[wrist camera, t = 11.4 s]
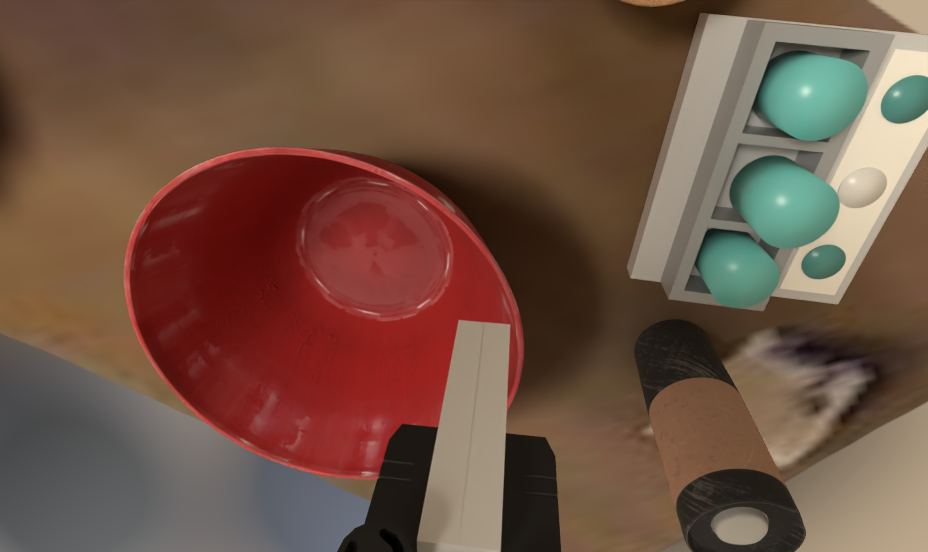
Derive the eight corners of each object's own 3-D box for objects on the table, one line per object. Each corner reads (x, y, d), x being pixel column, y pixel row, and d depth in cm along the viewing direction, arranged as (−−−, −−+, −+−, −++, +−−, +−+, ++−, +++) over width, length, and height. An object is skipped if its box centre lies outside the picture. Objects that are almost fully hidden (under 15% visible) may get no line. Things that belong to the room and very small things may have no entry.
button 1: (765, 46, 34) (799, 55, 29) (838, 53, 33) (883, 64, 29) (739, 118, 36) (767, 136, 32) (806, 125, 36) (844, 144, 31)
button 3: (702, 221, 40) (723, 249, 36) (762, 228, 40) (790, 257, 36) (684, 271, 43) (701, 303, 38) (740, 279, 42) (764, 311, 38)
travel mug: (619, 365, 52) (663, 553, 35) (650, 308, 48) (718, 487, 31) (688, 384, 52) (767, 580, 35) (725, 328, 48) (835, 518, 31)
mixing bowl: (489, 59, 38) (468, 97, 25) (547, 347, 52) (554, 471, 38) (183, 136, 44) (36, 200, 31) (305, 376, 58) (239, 492, 45)
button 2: (743, 151, 35) (773, 174, 30) (813, 159, 34) (854, 183, 30) (719, 214, 37) (744, 243, 33) (785, 221, 37) (819, 252, 33)
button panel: (700, 12, 35) (723, 16, 31) (964, 37, 34) (1027, 45, 30) (626, 267, 46) (636, 296, 42) (826, 292, 45) (857, 324, 41)
